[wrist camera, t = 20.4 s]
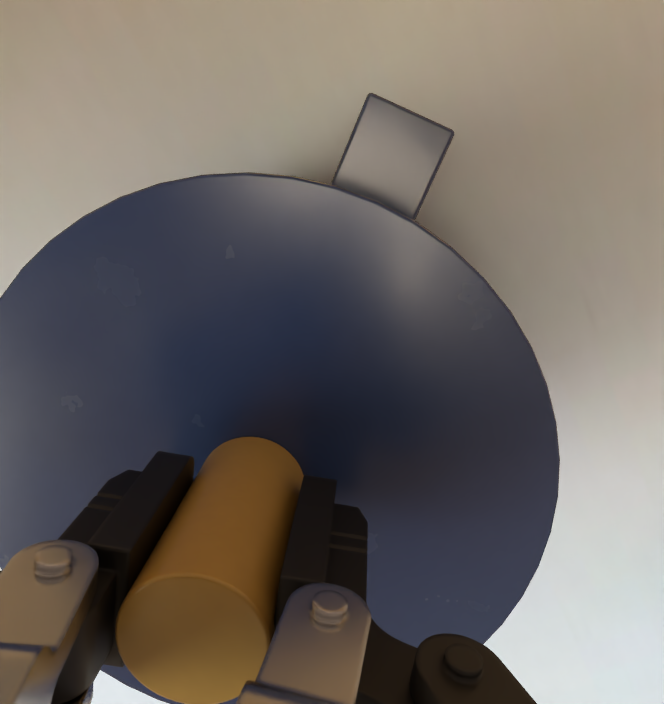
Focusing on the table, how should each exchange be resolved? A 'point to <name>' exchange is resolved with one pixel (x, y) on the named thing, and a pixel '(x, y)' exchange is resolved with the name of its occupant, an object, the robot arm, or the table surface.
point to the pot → (392, 155)
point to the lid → (275, 413)
